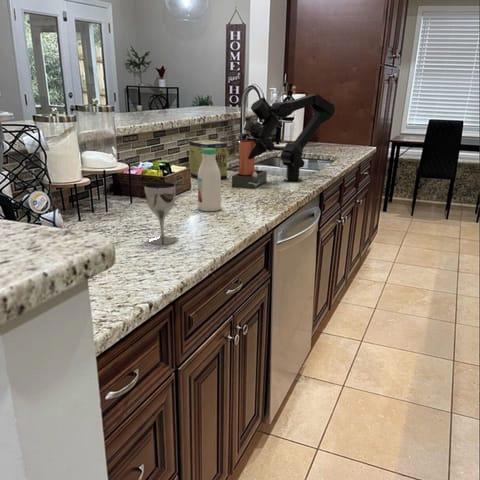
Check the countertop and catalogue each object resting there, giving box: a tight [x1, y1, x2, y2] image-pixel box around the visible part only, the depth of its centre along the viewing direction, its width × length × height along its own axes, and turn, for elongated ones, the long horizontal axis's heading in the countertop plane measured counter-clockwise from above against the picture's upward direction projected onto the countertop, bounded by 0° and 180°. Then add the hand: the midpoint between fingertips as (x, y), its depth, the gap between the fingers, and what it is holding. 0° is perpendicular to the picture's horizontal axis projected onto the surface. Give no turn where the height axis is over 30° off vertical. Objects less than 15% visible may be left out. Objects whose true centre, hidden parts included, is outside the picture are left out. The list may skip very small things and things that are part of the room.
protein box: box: [188, 139, 228, 181], centre depth 225 cm, size 10×16×16 cm
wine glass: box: [144, 182, 177, 245], centre depth 134 cm, size 8×8×15 cm
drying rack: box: [231, 169, 268, 190], centre depth 214 cm, size 9×18×5 cm, turn 160°
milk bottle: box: [197, 148, 222, 212], centre depth 168 cm, size 8×8×20 cm
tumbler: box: [238, 140, 256, 175], centre depth 206 cm, size 6×6×13 cm
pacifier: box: [248, 172, 260, 188], centre depth 208 cm, size 7×6×6 cm
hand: (244, 157), depth 206 cm, fingers closed on tumbler, 6 cm apart
